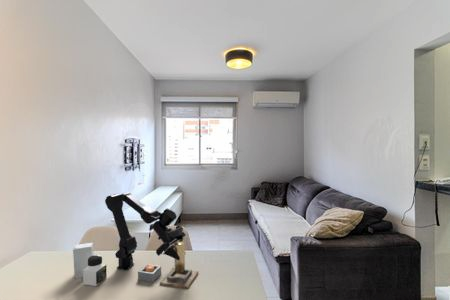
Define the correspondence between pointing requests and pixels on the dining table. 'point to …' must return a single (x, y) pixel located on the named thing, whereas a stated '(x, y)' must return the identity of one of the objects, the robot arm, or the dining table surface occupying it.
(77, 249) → the skincare box
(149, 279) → the button housing
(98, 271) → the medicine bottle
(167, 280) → the brown board with frame
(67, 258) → the dining table surface
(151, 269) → the button
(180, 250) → the brass billet
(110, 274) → the dining table surface
